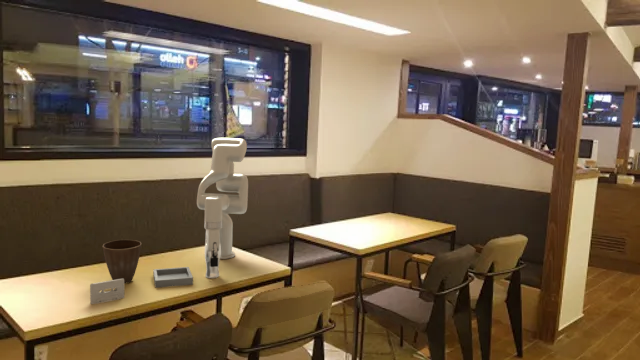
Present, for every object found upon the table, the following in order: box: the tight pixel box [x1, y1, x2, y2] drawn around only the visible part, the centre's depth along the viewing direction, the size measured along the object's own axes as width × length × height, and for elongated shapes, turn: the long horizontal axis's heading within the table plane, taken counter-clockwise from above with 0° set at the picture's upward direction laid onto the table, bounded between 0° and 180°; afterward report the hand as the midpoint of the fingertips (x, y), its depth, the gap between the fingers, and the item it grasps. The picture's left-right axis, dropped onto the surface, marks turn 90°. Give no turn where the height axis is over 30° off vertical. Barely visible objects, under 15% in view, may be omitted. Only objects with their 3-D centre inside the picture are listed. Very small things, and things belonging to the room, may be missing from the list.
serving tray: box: [152, 266, 194, 289], centre depth 205 cm, size 15×15×3 cm
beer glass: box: [204, 242, 221, 279], centre depth 212 cm, size 7×7×15 cm
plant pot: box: [102, 239, 142, 285], centre depth 200 cm, size 15×15×16 cm
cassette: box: [89, 278, 125, 305], centre depth 180 cm, size 12×2×8 cm, turn 129°
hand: (212, 263), depth 212 cm, fingers open, 7 cm apart
